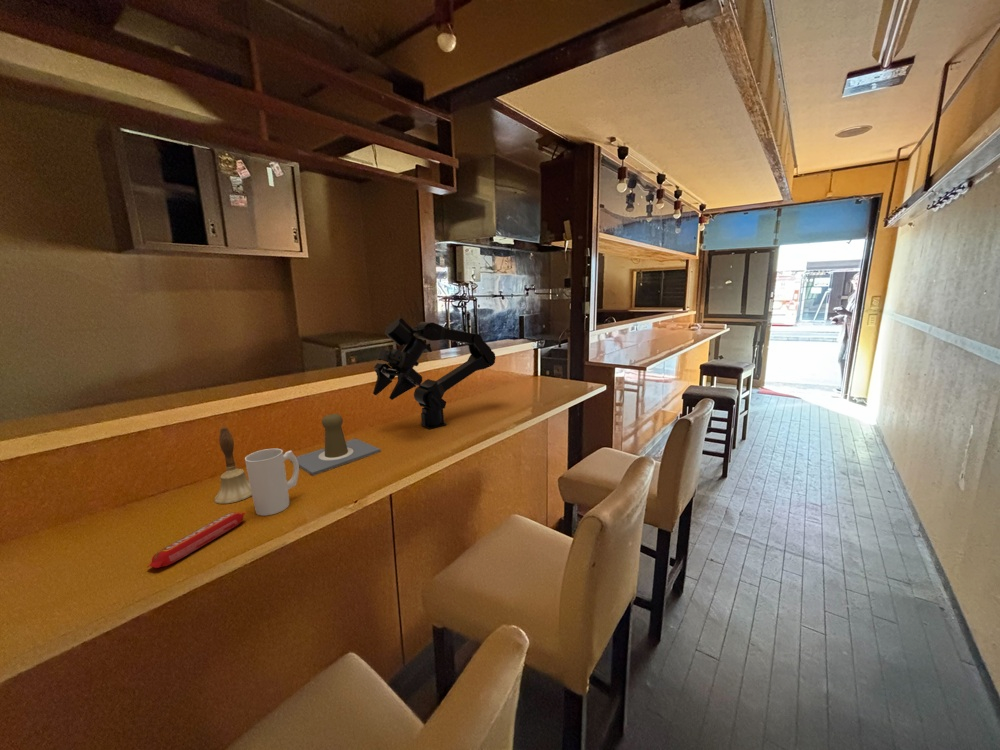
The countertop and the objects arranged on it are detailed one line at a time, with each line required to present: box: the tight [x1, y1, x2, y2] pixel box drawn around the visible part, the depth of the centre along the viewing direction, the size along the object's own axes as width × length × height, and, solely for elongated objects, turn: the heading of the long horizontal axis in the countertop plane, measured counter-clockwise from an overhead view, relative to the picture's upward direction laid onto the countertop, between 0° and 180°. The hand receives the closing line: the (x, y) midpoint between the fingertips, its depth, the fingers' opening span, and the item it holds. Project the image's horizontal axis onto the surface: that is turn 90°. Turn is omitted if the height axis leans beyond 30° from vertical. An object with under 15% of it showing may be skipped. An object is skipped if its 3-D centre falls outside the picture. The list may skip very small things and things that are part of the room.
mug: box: [244, 447, 300, 517], centre depth 84 cm, size 10×7×12 cm, turn 147°
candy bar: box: [147, 512, 246, 569], centre depth 72 cm, size 16×4×3 cm, turn 161°
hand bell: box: [213, 426, 252, 505], centre depth 89 cm, size 8×8×16 cm
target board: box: [289, 438, 381, 476], centre depth 110 cm, size 19×14×1 cm
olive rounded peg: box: [321, 413, 348, 458], centre depth 109 cm, size 6×6×11 cm
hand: (382, 396), depth 119 cm, fingers open, 9 cm apart
